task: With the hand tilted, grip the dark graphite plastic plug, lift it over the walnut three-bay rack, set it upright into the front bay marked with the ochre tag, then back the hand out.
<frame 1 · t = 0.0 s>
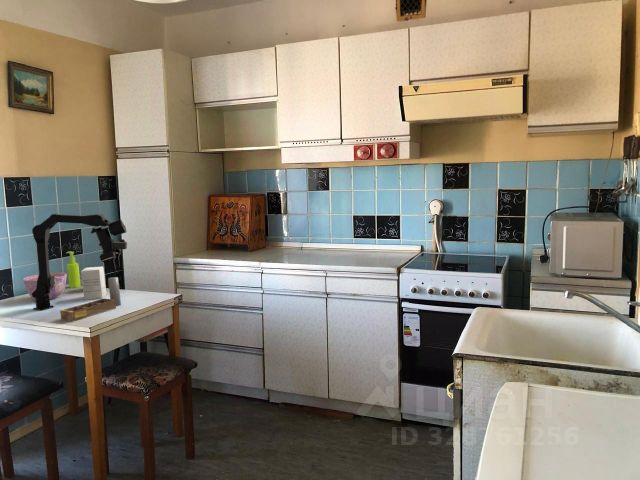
hand: (117, 269, 249), 15 cm above the table, tool pointing down, fingers open, 9 cm apart
rack: (89, 313, 230), on the table
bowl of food: (47, 298, 265), on the table
plug: (116, 305, 243), on the table
supplement box: (95, 297, 262), on the table
soap dispenser: (74, 287, 292), on the table
lidded jar: (92, 290, 282), on the table
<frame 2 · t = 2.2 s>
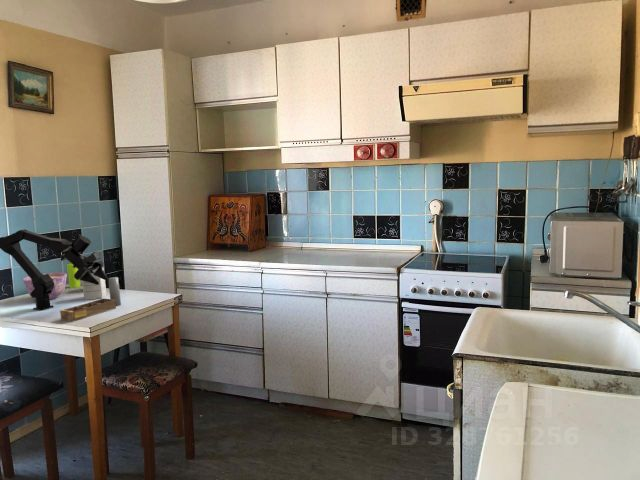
hand: (103, 281, 242), 11 cm above the table, tool tilted 45°, fingers open, 9 cm apart
nothing on the table moved.
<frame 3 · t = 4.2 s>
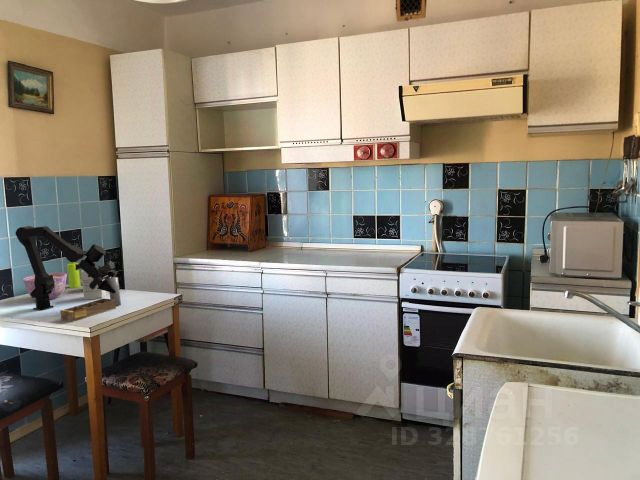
hand: (117, 291, 242), 7 cm above the table, tool tilted 45°, fingers closed on plug, 4 cm apart
plug: (116, 305, 243), on the table, touching gripper
everything else where it was.
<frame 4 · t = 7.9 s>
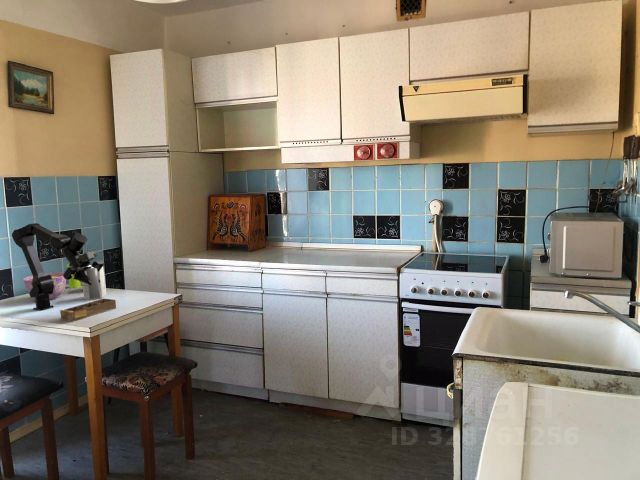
hand: (95, 283, 229), 13 cm above the table, tool tilted 45°, fingers closed on plug, 4 cm apart
plug: (95, 297, 230), point 7 cm above the table, touching gripper
everything else where it was.
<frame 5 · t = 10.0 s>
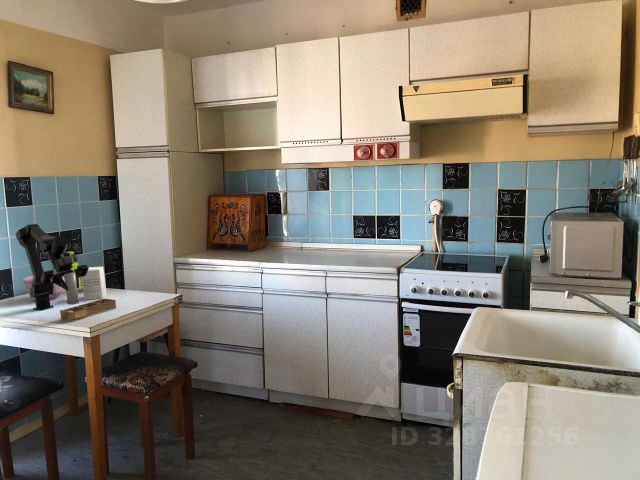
hand: (73, 288, 221), 13 cm above the table, tool tilted 45°, fingers closed on plug, 4 cm apart
plug: (73, 303, 223), point 7 cm above the table, touching gripper
everything else where it was.
when the fingers open (8 cm above the table, at t = 11.6 s): plug drops 1 cm, resting on rack.
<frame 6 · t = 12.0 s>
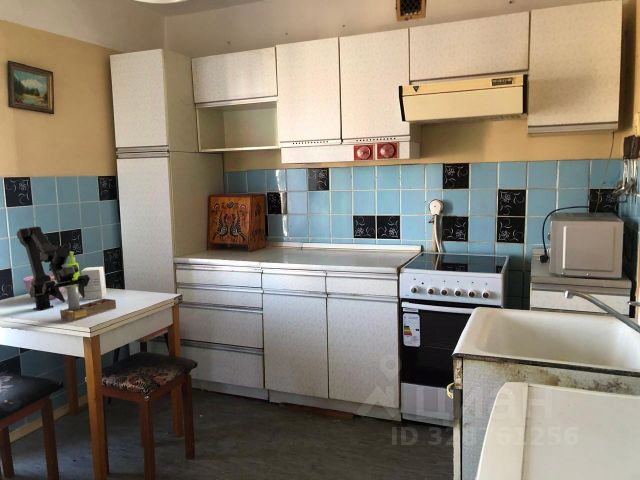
hand: (74, 299, 222), 9 cm above the table, tool tilted 45°, fingers open, 8 cm apart
plug: (74, 316, 224), point 1 cm above the table, touching rack
everything else where it was.
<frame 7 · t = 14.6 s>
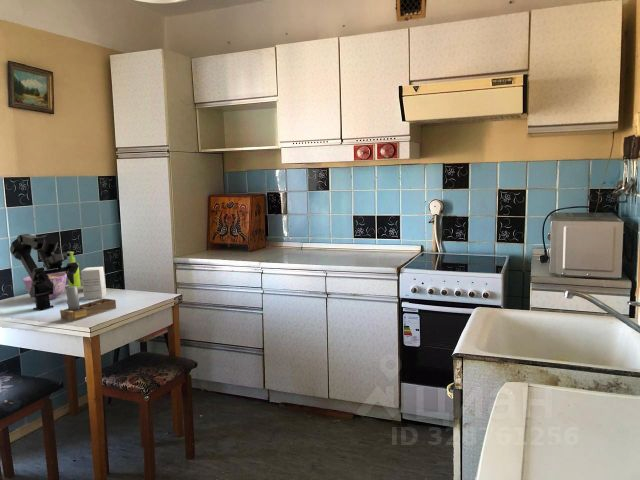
hand: (62, 285, 227), 13 cm above the table, tool tilted 45°, fingers open, 9 cm apart
nothing on the table moved.
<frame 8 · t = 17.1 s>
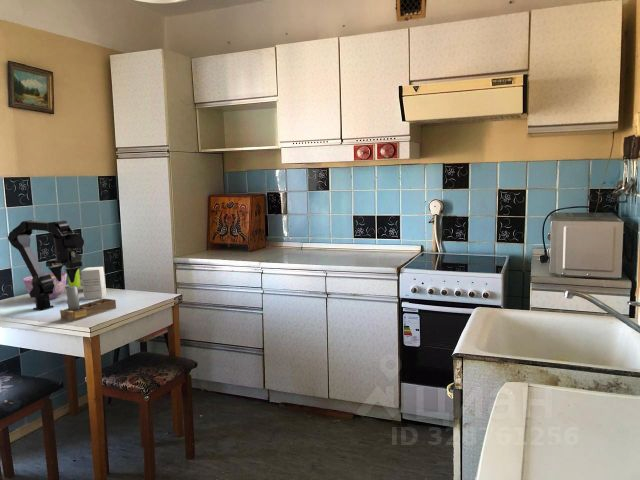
hand: (66, 281, 238), 13 cm above the table, tool pointing down, fingers open, 9 cm apart
nothing on the table moved.
at the end: plug 0.0 cm from the target spot on the rack, point 0.6 cm above the rack's base; plug tilted 0°; the gripper is holding nothing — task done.
